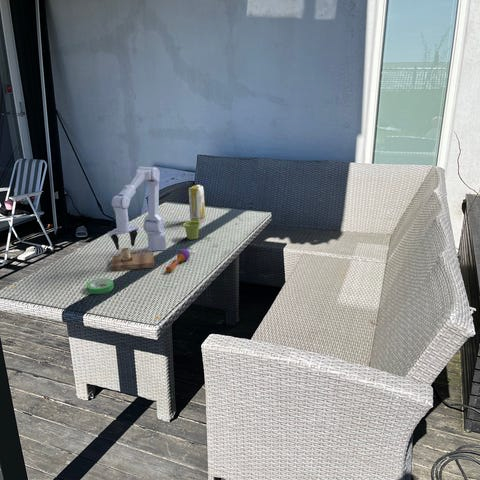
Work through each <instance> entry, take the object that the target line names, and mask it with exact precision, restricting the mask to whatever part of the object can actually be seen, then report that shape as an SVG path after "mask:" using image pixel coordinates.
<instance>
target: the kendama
mask: <svg viewBox="0 0 480 480" xmlns="http://www.w3.org/2000/svg"><path fill="white" fill-rule="evenodd" d="M190 255H191V253H190V251H189V250H188V249H186V248H181V249H179V251H178V252H177V255H176V260H175V261H173V262H172V263H171V264H169V265H167V266H166V267H165V272H167V274H168V273H170V274H172V272H173V270H174V269H175V268H176V267H177V265H178V263H179V262H184V261H185V262H186V261H187V260H189V259H190Z"/></svg>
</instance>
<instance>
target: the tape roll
mask: <svg viewBox="0 0 480 480" xmlns="http://www.w3.org/2000/svg"><path fill="white" fill-rule="evenodd" d="M101 285H103V286H101ZM114 287H115V286H114V281H113V279H111V278H107V277H105V278H97V279H96V278H95V279H94V280H91V281H89V282H88V283H87V284H86V291H87V292H88V293H89V294H92V295H102V294H105V293H109V292H111V291H112V290H113V289H114Z"/></svg>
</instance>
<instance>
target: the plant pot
mask: <svg viewBox="0 0 480 480" xmlns="http://www.w3.org/2000/svg"><path fill="white" fill-rule="evenodd" d="M200 225H201V224H200V222H196V221H191V220H190V221H186V222H184V223H183V226H184V229H185V233H186V238H187V240H197V239H199V231H200V229H199V228H200Z"/></svg>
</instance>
